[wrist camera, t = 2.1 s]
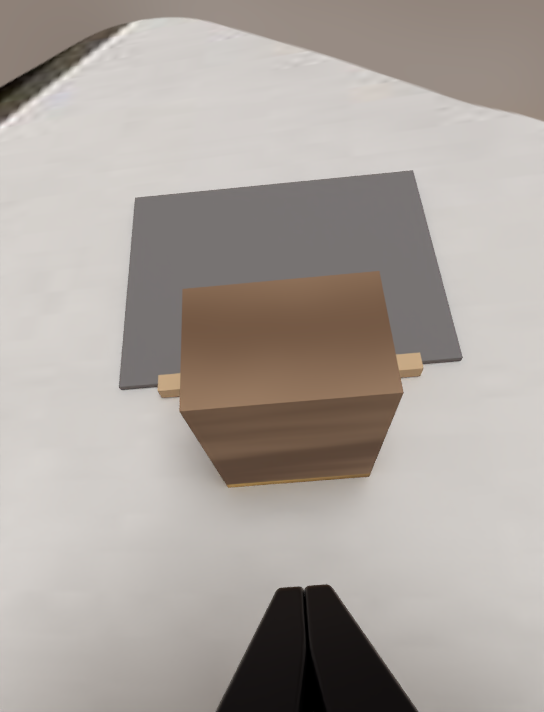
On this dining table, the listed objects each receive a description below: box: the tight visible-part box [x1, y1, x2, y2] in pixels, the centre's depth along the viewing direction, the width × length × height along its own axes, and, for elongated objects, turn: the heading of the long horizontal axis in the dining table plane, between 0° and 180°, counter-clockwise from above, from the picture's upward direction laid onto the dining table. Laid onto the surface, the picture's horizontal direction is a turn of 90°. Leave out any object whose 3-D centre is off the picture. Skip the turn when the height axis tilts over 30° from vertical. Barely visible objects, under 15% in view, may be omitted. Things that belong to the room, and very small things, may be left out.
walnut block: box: [179, 271, 403, 488], centre depth 18 cm, size 4×6×9 cm, turn 93°
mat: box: [119, 170, 463, 398], centre depth 26 cm, size 13×16×1 cm
